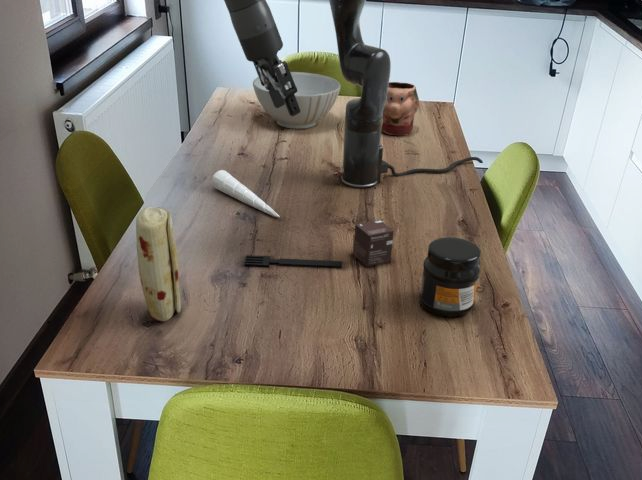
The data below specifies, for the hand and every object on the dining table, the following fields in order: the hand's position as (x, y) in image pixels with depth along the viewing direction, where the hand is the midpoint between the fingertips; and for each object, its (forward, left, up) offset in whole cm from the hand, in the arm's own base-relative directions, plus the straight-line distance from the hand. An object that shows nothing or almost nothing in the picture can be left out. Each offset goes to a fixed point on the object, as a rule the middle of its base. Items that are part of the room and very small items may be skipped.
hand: (287, 110), depth 141 cm
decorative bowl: (-38, -71, -28) cm, 85 cm away
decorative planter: (-64, -53, -28) cm, 88 cm away
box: (-11, +17, -28) cm, 35 cm away
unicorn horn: (+1, -21, -28) cm, 35 cm away
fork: (+5, +12, -28) cm, 31 cm away
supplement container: (-14, +39, -28) cm, 50 cm away
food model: (+35, +19, -28) cm, 48 cm away
